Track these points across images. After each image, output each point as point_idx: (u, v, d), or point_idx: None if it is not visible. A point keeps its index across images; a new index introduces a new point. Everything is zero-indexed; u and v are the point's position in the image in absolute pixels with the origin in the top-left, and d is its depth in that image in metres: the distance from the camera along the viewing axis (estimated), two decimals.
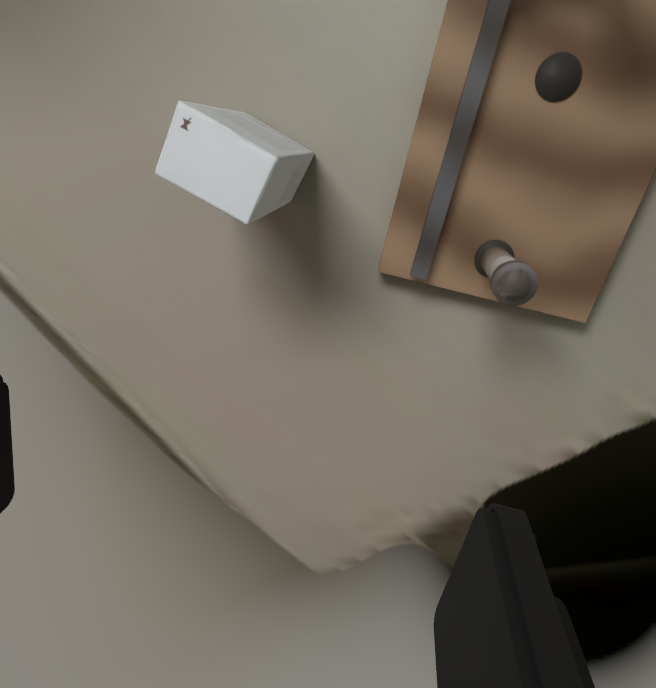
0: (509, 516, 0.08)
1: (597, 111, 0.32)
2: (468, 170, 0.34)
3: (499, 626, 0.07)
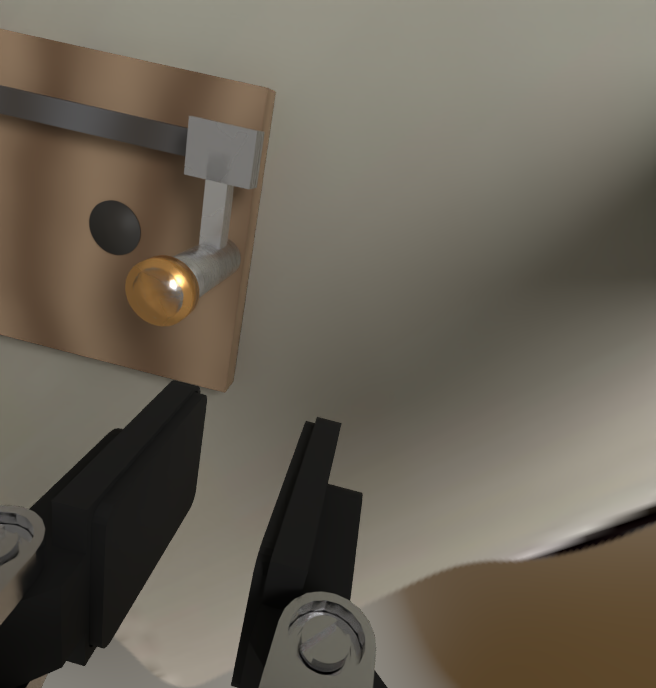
0: (323, 425, 0.10)
1: (90, 278, 0.27)
2: None
3: None
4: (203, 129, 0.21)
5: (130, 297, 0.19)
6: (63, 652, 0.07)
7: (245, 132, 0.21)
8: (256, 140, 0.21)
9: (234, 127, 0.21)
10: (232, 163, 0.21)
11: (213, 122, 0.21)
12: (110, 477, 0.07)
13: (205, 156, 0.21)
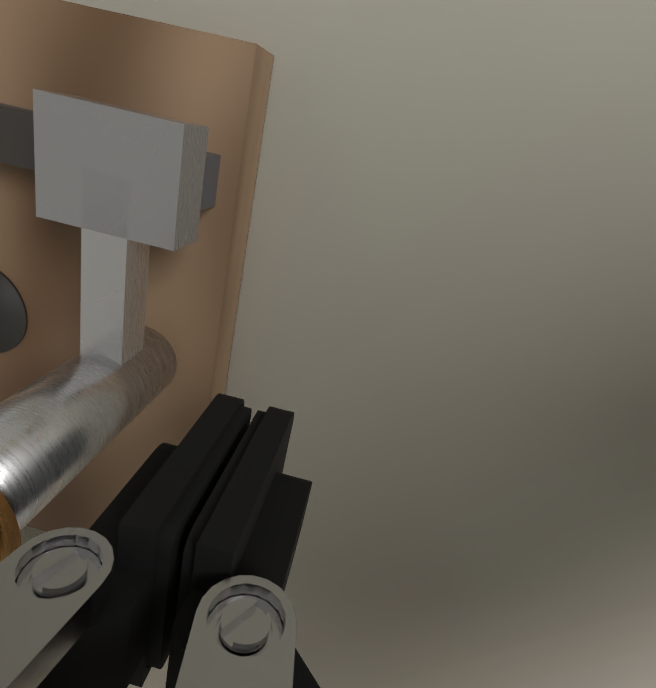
0: (274, 414, 0.10)
1: None
2: None
3: None
4: (66, 120, 0.09)
5: None
6: (127, 676, 0.07)
7: (157, 127, 0.09)
8: (184, 145, 0.09)
9: (134, 115, 0.09)
10: (134, 195, 0.10)
11: (86, 104, 0.09)
12: (172, 497, 0.07)
13: (76, 179, 0.10)
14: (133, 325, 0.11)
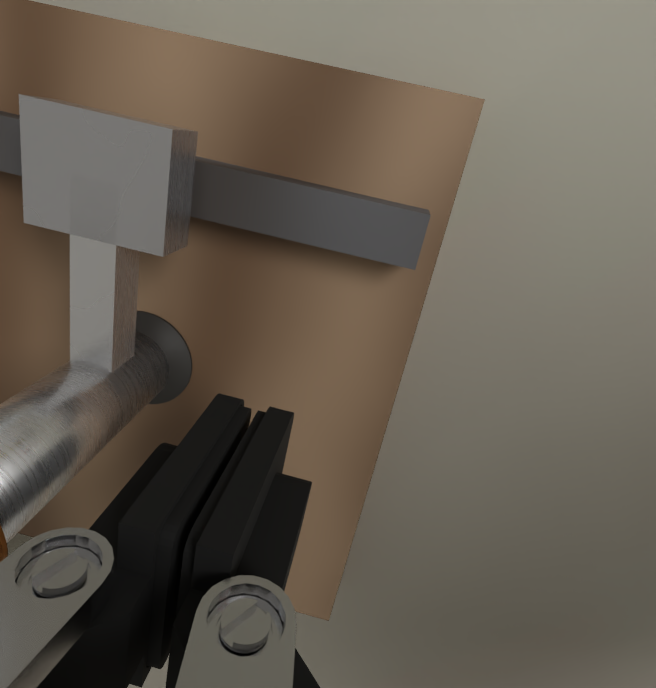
0: (274, 414, 0.10)
1: None
2: None
3: None
4: (53, 125, 0.09)
5: None
6: (127, 675, 0.07)
7: (145, 132, 0.09)
8: (172, 150, 0.09)
9: (121, 121, 0.09)
10: (123, 201, 0.10)
11: (73, 109, 0.09)
12: (172, 497, 0.07)
13: (64, 185, 0.10)
14: (123, 331, 0.11)
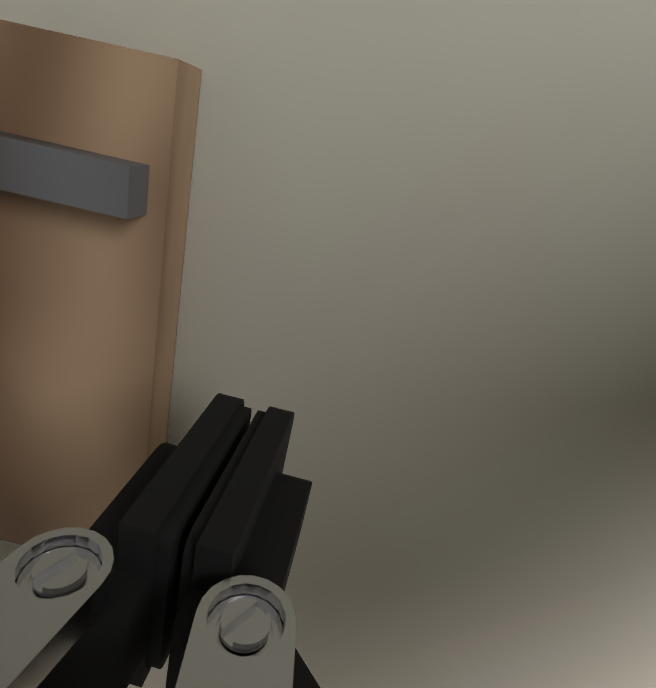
0: (274, 414, 0.10)
1: None
2: None
3: None
4: None
5: None
6: (127, 676, 0.07)
7: None
8: None
9: None
10: None
11: None
12: (172, 497, 0.07)
13: None
14: None
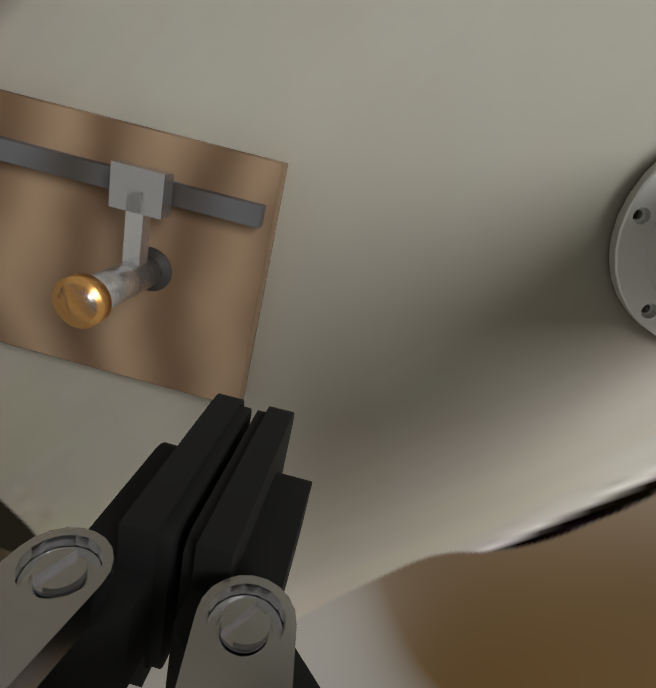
0: (274, 414, 0.10)
1: (125, 309, 0.32)
2: (51, 182, 0.29)
3: None
4: (122, 171, 0.26)
5: (56, 305, 0.24)
6: (127, 676, 0.07)
7: (155, 175, 0.26)
8: (164, 181, 0.26)
9: (147, 171, 0.26)
10: (146, 199, 0.26)
11: (130, 166, 0.26)
12: (172, 497, 0.07)
13: (125, 192, 0.26)
14: (143, 250, 0.28)
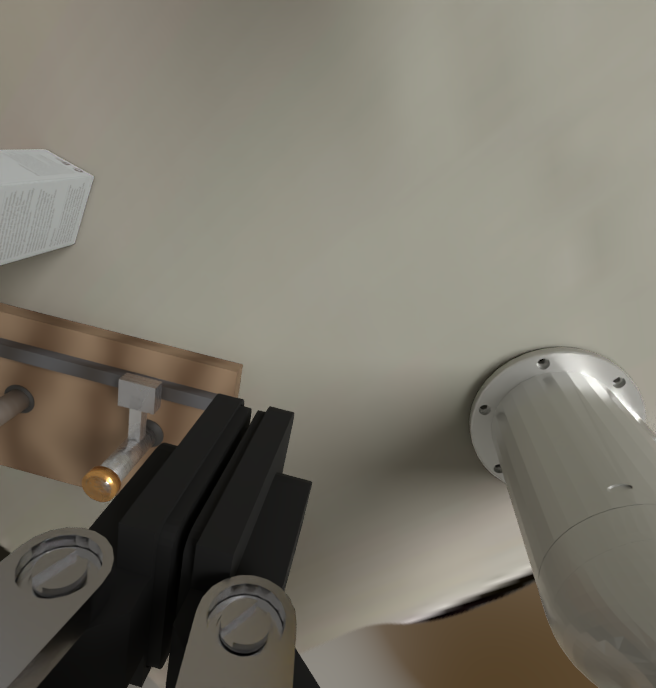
0: (274, 414, 0.10)
1: None
2: (77, 377, 0.42)
3: None
4: (126, 385, 0.38)
5: (84, 488, 0.36)
6: (127, 676, 0.07)
7: (149, 388, 0.38)
8: (155, 392, 0.38)
9: (143, 386, 0.38)
10: (143, 402, 0.39)
11: (132, 383, 0.38)
12: (172, 497, 0.07)
13: (128, 398, 0.39)
14: (142, 430, 0.40)
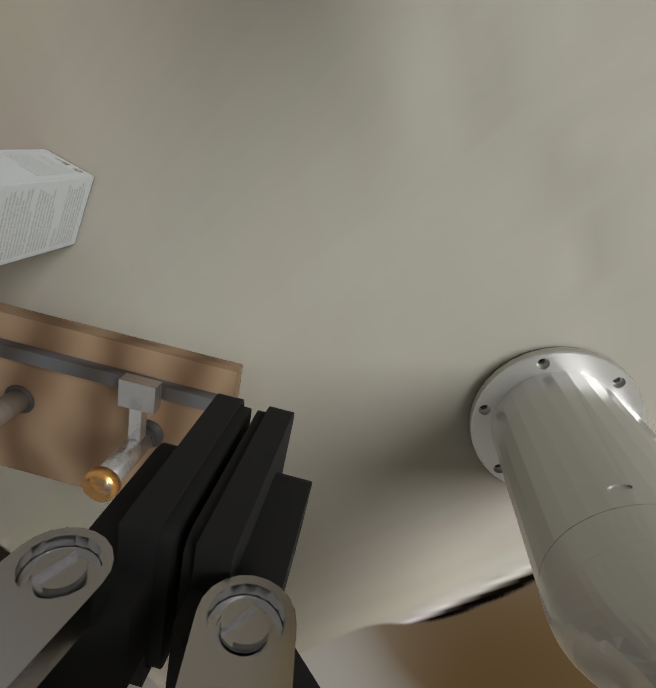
0: (274, 414, 0.10)
1: None
2: (77, 377, 0.42)
3: None
4: (126, 385, 0.38)
5: (84, 488, 0.36)
6: (127, 676, 0.07)
7: (149, 388, 0.38)
8: (155, 392, 0.38)
9: (143, 386, 0.38)
10: (143, 402, 0.39)
11: (132, 383, 0.38)
12: (172, 497, 0.07)
13: (128, 398, 0.39)
14: (142, 430, 0.40)
